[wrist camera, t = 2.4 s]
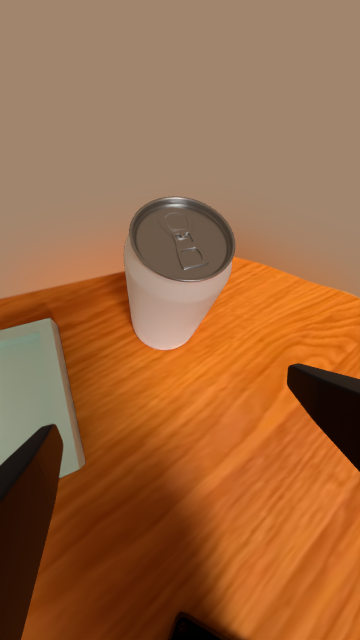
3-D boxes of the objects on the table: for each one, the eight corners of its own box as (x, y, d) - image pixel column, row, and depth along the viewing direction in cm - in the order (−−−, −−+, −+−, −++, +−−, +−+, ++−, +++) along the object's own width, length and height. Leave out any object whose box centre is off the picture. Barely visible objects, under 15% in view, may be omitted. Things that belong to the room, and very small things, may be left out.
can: (181, 287, 24) (214, 185, 13) (204, 340, 22) (264, 272, 11) (124, 301, 22) (106, 197, 11) (142, 360, 20) (142, 303, 9)
